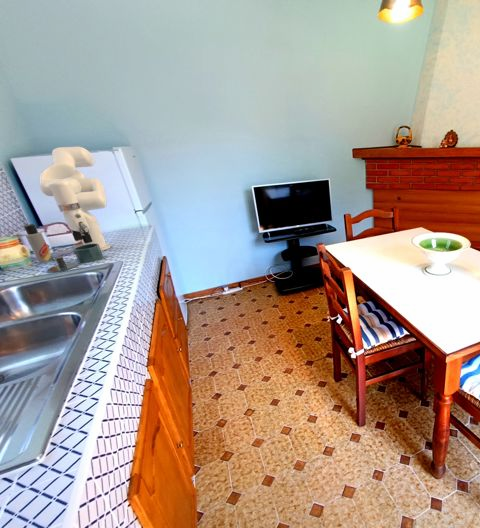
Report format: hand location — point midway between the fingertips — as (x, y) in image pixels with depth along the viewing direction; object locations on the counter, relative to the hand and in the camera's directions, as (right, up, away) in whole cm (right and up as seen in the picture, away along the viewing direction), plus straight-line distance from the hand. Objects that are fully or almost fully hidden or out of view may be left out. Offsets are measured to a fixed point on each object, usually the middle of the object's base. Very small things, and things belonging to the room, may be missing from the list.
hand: (84, 241), depth 149 cm
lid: (-5, -13, -6) cm, 15 cm away
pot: (+1, -10, +4) cm, 10 cm away
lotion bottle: (-23, -11, +5) cm, 26 cm away
